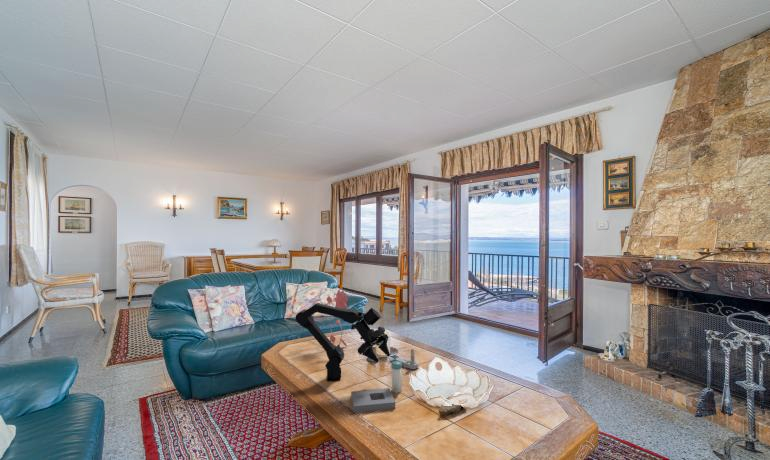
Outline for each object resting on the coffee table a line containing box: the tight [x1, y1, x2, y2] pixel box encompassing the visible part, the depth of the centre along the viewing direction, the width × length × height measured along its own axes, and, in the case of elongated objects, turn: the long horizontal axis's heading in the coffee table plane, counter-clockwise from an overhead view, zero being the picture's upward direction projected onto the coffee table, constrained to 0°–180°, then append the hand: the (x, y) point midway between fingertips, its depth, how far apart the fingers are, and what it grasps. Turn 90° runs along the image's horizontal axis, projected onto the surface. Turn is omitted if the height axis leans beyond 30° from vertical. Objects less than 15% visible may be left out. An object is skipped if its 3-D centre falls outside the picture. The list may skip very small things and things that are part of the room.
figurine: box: [326, 289, 353, 347], centre depth 224 cm, size 15×26×35 cm, turn 46°
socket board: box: [350, 387, 396, 413], centre depth 148 cm, size 17×13×2 cm
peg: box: [391, 360, 403, 394], centre depth 159 cm, size 4×4×12 cm
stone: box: [438, 395, 462, 418], centre depth 140 cm, size 14×7×5 cm, turn 138°
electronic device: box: [395, 349, 419, 370], centre depth 189 cm, size 5×10×15 cm
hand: (383, 358), depth 163 cm, fingers open, 9 cm apart
